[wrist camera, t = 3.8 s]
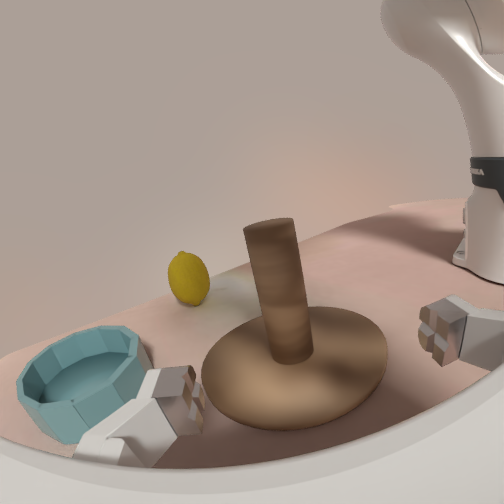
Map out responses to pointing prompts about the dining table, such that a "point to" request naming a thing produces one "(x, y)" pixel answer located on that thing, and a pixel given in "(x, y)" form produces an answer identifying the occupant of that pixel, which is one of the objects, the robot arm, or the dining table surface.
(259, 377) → the lid
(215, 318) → the dining table surface
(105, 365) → the bowl
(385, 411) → the dining table surface
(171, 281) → the lemon
